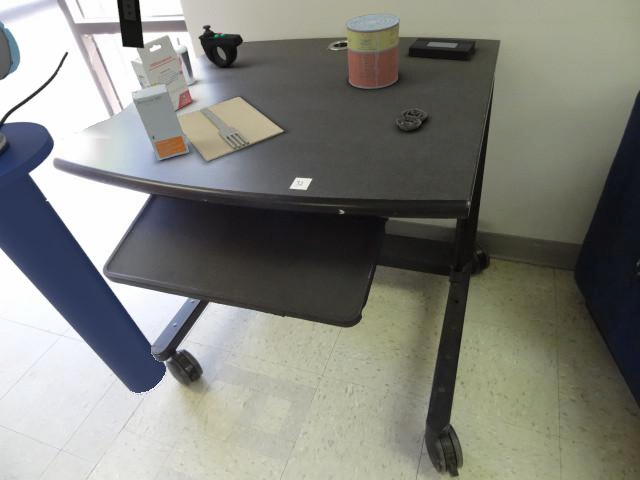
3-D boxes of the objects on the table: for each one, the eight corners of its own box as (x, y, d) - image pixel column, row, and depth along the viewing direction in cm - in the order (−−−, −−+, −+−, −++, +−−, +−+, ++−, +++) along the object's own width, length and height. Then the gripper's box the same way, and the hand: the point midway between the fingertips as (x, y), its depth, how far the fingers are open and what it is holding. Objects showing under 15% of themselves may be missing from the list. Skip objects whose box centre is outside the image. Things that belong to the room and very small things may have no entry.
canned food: (376, 65, 98) (375, 11, 90) (408, 77, 91) (411, 19, 83) (339, 79, 94) (335, 23, 86) (370, 93, 87) (369, 33, 78)
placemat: (172, 120, 87) (172, 119, 87) (239, 97, 92) (239, 96, 92) (207, 161, 73) (206, 160, 72) (283, 132, 78) (283, 130, 78)
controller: (213, 62, 112) (202, 23, 106) (250, 64, 108) (241, 24, 101) (204, 68, 110) (192, 28, 103) (242, 70, 105) (232, 29, 98)
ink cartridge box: (180, 98, 96) (156, 31, 86) (193, 101, 93) (170, 34, 83) (150, 113, 91) (122, 44, 81) (163, 117, 89) (136, 47, 79)
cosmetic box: (158, 162, 74) (131, 100, 66) (156, 151, 77) (130, 91, 69) (190, 152, 76) (168, 91, 68) (187, 143, 79) (165, 82, 71)
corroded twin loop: (391, 130, 74) (391, 125, 73) (405, 111, 79) (405, 106, 78) (417, 134, 72) (417, 129, 71) (430, 114, 77) (431, 109, 76)
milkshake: (199, 77, 105) (186, 36, 98) (195, 85, 101) (182, 43, 94) (182, 79, 105) (168, 38, 98) (178, 87, 101) (163, 45, 94)
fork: (197, 112, 88) (196, 110, 88) (210, 108, 89) (209, 106, 89) (234, 149, 74) (233, 147, 74) (249, 143, 75) (248, 141, 75)
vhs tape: (418, 45, 105) (418, 37, 103) (474, 49, 99) (475, 40, 98) (408, 56, 100) (408, 47, 99) (466, 60, 94) (468, 51, 93)
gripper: (147, -169, 42) (164, 54, 52) (143, -118, 61) (157, 37, 72) (63, -190, 39) (99, 50, 49) (88, -129, 58) (110, 33, 69)
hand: (133, 42), depth 60 cm, fingers open, 13 cm apart
